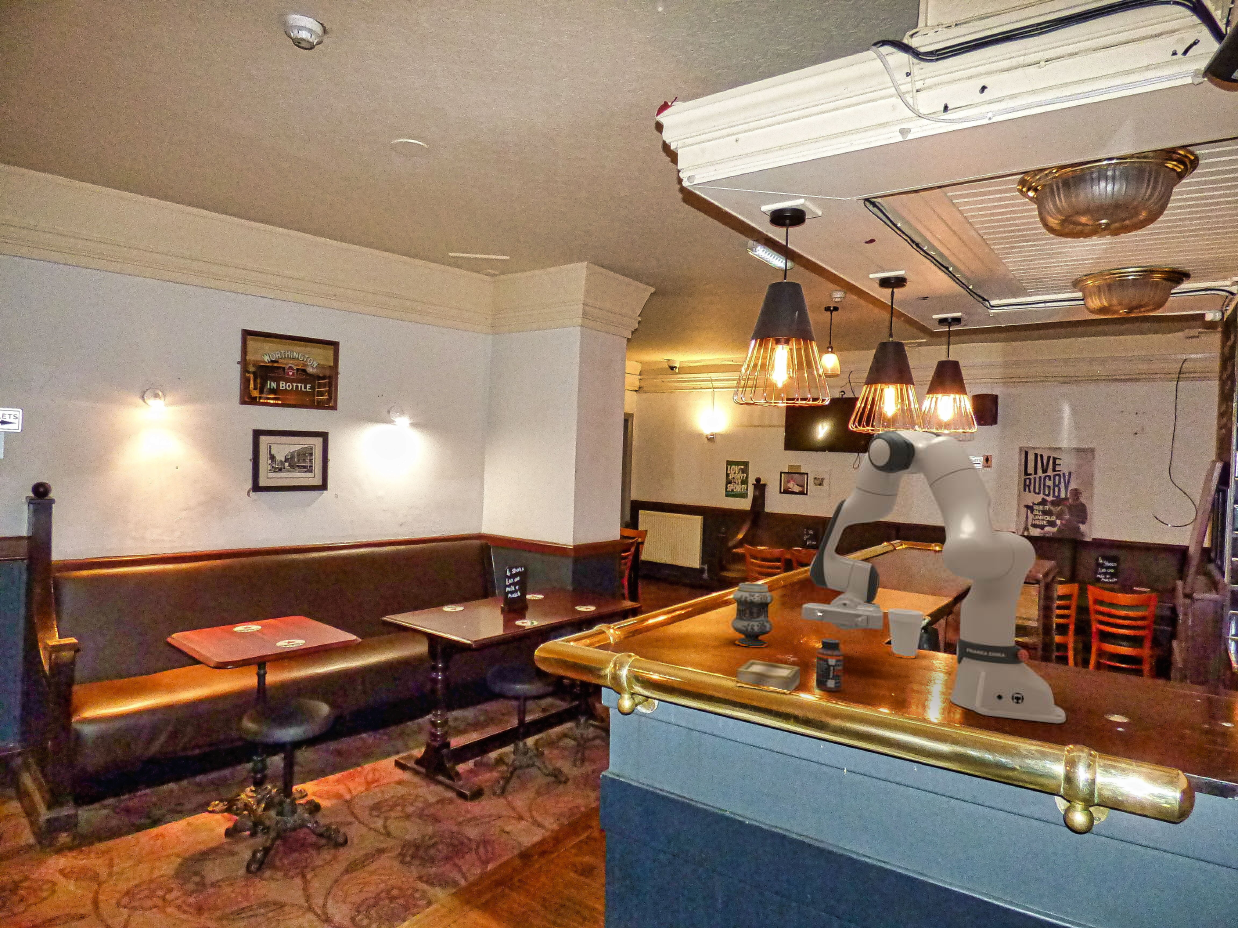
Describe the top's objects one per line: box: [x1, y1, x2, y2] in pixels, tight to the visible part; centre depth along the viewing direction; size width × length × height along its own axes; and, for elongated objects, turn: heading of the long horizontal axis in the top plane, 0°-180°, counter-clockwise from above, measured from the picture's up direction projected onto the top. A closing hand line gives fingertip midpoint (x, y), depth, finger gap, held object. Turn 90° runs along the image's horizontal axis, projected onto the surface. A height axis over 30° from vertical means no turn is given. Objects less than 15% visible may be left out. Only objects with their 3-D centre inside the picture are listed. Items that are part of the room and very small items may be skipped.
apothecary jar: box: [731, 582, 774, 646], centre depth 219 cm, size 12×12×18 cm
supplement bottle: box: [815, 638, 844, 692], centre depth 172 cm, size 6×6×11 cm
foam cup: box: [887, 608, 924, 656], centre depth 213 cm, size 10×9×13 cm
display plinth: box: [736, 659, 801, 692], centre depth 173 cm, size 12×12×4 cm
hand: (837, 619), depth 183 cm, fingers open, 8 cm apart
